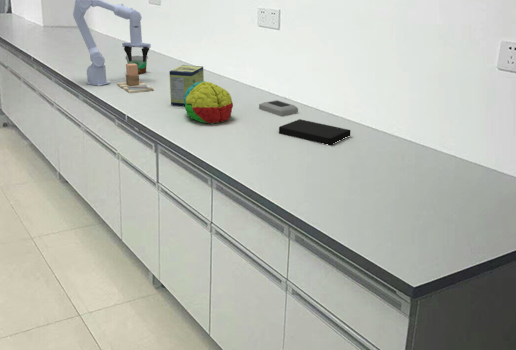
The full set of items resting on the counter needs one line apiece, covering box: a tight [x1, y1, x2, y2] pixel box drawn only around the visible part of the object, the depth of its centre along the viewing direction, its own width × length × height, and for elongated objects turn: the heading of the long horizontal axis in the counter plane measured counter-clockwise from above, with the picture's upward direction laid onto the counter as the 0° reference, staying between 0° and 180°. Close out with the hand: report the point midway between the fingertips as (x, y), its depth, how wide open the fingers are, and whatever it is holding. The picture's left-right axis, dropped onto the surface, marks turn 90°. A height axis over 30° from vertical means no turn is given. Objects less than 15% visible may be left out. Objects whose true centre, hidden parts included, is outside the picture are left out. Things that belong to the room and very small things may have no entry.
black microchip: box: [278, 118, 351, 146], centre depth 229 cm, size 14×23×3 cm, turn 52°
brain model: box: [184, 80, 234, 124], centre depth 248 cm, size 24×19×15 cm
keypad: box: [258, 99, 299, 117], centre depth 261 cm, size 10×4×15 cm
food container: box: [125, 54, 149, 76], centre depth 330 cm, size 12×6×10 cm, turn 105°
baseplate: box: [116, 73, 154, 94], centre depth 299 cm, size 20×12×6 cm, turn 30°
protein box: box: [169, 64, 205, 107], centre depth 271 cm, size 10×16×16 cm
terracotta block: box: [125, 63, 138, 76], centre depth 300 cm, size 4×4×5 cm
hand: (137, 61), depth 310 cm, fingers open, 7 cm apart
